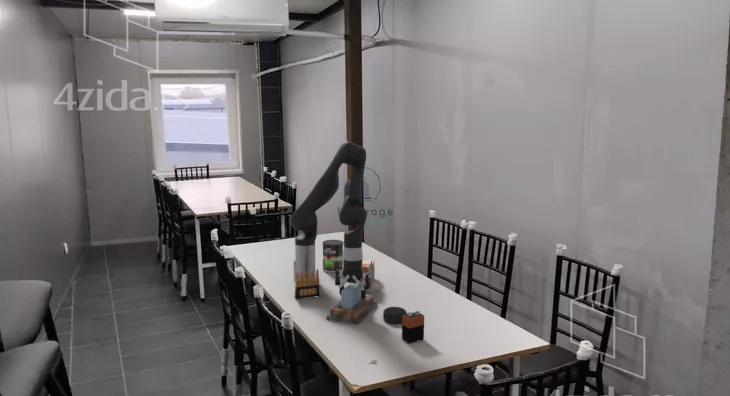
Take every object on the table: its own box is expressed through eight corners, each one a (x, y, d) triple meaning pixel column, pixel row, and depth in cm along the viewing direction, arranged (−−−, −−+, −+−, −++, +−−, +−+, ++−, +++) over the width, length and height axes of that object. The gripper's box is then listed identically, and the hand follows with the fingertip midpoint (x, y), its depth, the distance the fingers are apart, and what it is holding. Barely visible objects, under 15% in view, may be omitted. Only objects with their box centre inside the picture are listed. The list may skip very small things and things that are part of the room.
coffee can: (338, 273, 266) (338, 245, 264) (319, 271, 270) (318, 243, 268) (346, 268, 276) (346, 240, 273) (328, 265, 280) (328, 238, 277)
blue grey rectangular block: (341, 313, 212) (341, 291, 210) (353, 301, 225) (354, 280, 223) (350, 315, 210) (351, 292, 209) (363, 302, 223) (363, 281, 222)
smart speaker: (399, 326, 204) (399, 316, 203) (378, 321, 209) (379, 311, 208) (410, 319, 211) (410, 309, 211) (390, 314, 216) (390, 304, 215)
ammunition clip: (295, 299, 231) (295, 271, 229) (294, 297, 233) (294, 270, 231) (320, 296, 235) (320, 269, 233) (318, 294, 237) (318, 268, 235)
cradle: (326, 319, 210) (326, 309, 209) (347, 300, 230) (347, 291, 230) (358, 324, 205) (358, 314, 205) (376, 304, 226) (377, 295, 225)
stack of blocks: (361, 278, 261) (361, 252, 259) (374, 278, 260) (374, 253, 258) (354, 293, 240) (354, 265, 238) (368, 293, 239) (369, 266, 237)
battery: (401, 339, 193) (401, 312, 191) (416, 335, 196) (417, 308, 194) (408, 344, 189) (409, 316, 187) (424, 339, 192) (425, 312, 191)
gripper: (332, 258, 213) (332, 298, 216) (366, 261, 208) (366, 302, 211) (339, 253, 220) (339, 292, 223) (373, 256, 215) (372, 296, 218)
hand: (352, 297), depth 217 cm, fingers open, 8 cm apart
